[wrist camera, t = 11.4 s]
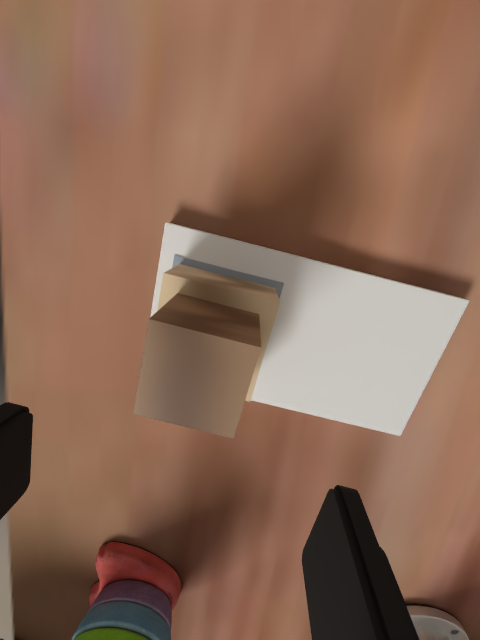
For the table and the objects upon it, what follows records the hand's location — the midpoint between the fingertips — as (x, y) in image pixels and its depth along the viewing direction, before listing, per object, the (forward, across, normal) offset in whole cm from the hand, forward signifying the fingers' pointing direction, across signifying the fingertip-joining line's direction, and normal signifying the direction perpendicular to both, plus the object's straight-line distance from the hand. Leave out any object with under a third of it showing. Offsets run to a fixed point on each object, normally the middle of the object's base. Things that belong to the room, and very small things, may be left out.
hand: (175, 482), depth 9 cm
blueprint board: (+15, -5, -1) cm, 16 cm away
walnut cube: (+10, +1, -1) cm, 10 cm away
